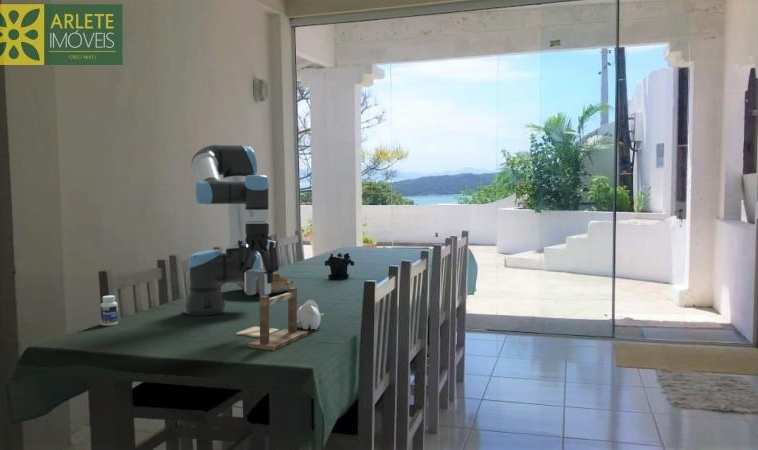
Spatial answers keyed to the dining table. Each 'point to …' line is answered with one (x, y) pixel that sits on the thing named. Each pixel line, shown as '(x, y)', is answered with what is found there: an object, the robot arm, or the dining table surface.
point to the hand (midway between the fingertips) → (257, 292)
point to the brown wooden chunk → (273, 284)
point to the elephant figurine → (309, 315)
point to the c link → (251, 282)
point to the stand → (283, 335)
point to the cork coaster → (255, 331)
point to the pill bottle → (109, 311)
